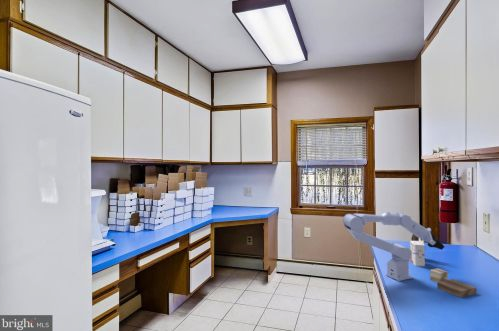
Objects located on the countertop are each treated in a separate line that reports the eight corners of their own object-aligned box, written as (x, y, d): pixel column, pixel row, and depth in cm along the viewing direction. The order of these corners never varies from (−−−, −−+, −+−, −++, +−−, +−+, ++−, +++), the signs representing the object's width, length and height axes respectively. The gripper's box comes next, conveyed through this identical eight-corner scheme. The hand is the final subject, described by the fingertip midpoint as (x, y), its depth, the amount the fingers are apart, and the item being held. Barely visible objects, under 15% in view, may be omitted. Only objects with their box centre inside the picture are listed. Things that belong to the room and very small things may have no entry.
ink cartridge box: (409, 260, 166) (409, 235, 166) (419, 261, 165) (419, 235, 165) (415, 266, 158) (414, 239, 158) (425, 266, 157) (424, 239, 157)
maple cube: (440, 284, 134) (440, 273, 134) (430, 280, 139) (430, 269, 139) (447, 282, 136) (447, 271, 136) (437, 278, 141) (437, 268, 141)
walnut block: (460, 298, 121) (460, 291, 120) (437, 289, 130) (437, 282, 130) (476, 294, 124) (476, 287, 124) (452, 285, 133) (452, 278, 133)
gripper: (429, 231, 136) (452, 245, 137) (416, 216, 150) (437, 230, 150) (419, 241, 138) (442, 256, 139) (406, 226, 152) (427, 240, 153)
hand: (438, 243), depth 145 cm, fingers open, 7 cm apart
